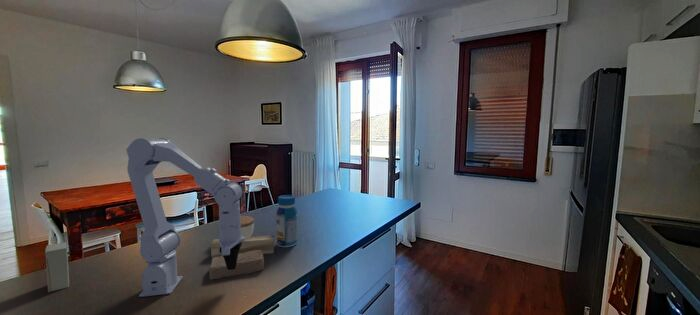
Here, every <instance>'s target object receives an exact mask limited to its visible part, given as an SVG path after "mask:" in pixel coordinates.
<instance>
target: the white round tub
mask: <svg viewBox="0 0 700 315" xmlns="http://www.w3.org/2000/svg"><path fill="white" fill-rule="evenodd" d="M240 221H241V237H252V236H253V234H254V229H255V218H254V217H252V216H248V215H240Z"/></svg>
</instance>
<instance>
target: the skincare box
mask: <svg viewBox="0 0 700 315" xmlns="http://www.w3.org/2000/svg"><path fill="white" fill-rule="evenodd" d="M68 252H69V251H68V242H67V241H64V242H59V243H58V242H57V243H54V244H47V245H46V247H45V265H46V267H45V268H46V283H47V293H51V292H55V291H58V290H62V289H66V288H69V287H70V273H69V270H70V269H69V254H68Z"/></svg>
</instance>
